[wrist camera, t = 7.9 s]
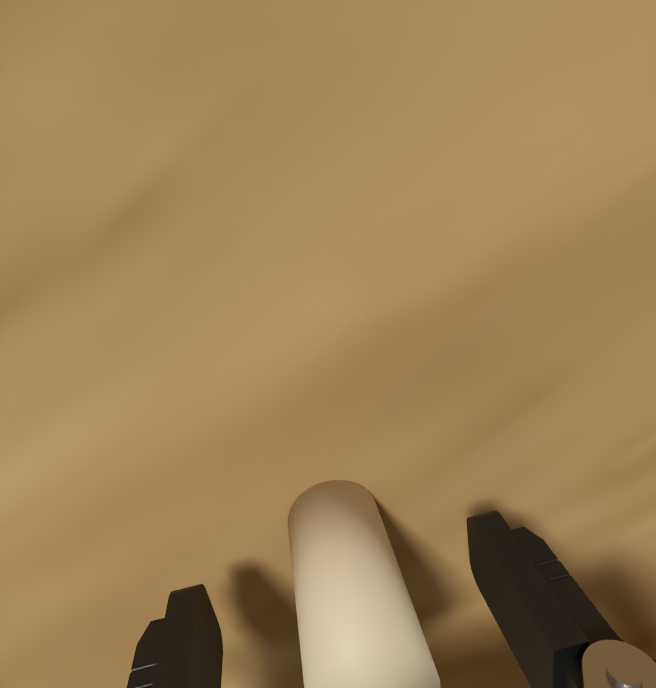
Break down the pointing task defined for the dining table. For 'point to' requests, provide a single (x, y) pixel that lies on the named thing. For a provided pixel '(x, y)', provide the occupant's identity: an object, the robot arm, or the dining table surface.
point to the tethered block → (352, 595)
